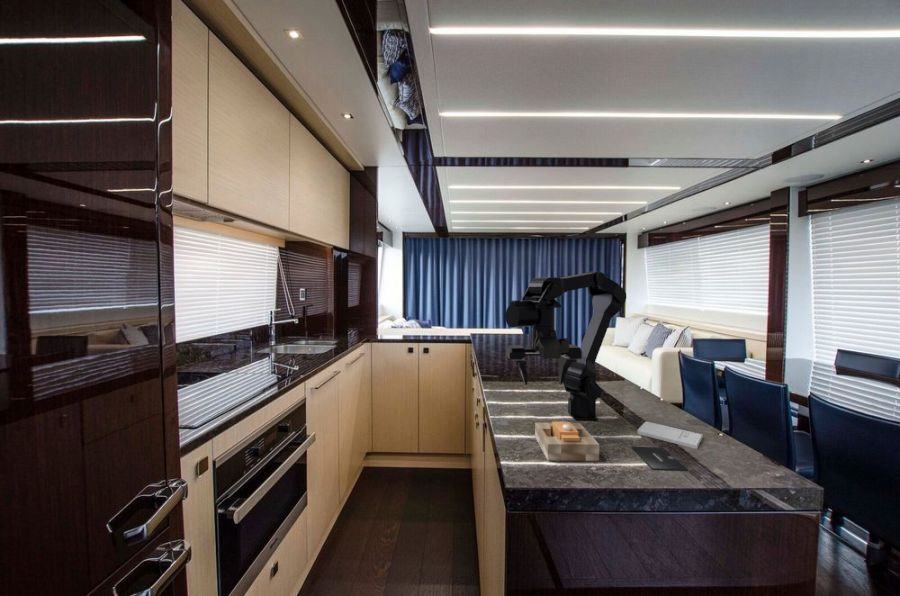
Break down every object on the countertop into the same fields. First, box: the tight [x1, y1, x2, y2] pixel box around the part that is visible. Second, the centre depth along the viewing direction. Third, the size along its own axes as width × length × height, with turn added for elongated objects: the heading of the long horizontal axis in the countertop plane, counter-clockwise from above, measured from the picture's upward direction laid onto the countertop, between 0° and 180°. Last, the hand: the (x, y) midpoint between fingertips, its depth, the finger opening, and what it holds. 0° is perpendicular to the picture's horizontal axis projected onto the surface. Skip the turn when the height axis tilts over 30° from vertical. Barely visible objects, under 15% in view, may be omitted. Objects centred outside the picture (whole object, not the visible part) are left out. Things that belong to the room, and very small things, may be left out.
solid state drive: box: [630, 446, 689, 472], centre depth 77 cm, size 7×10×1 cm
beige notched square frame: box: [534, 422, 600, 462], centre depth 82 cm, size 11×12×4 cm
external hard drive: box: [637, 421, 704, 449], centre depth 89 cm, size 2×8×12 cm
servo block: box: [551, 421, 580, 441], centre depth 82 cm, size 4×9×6 cm, turn 179°
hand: (543, 384), depth 95 cm, fingers open, 9 cm apart
